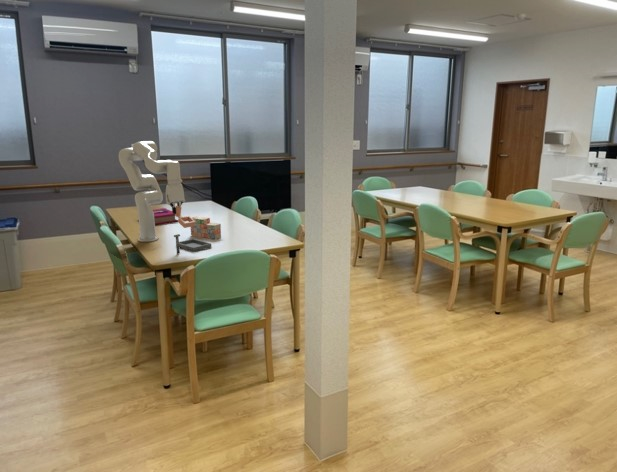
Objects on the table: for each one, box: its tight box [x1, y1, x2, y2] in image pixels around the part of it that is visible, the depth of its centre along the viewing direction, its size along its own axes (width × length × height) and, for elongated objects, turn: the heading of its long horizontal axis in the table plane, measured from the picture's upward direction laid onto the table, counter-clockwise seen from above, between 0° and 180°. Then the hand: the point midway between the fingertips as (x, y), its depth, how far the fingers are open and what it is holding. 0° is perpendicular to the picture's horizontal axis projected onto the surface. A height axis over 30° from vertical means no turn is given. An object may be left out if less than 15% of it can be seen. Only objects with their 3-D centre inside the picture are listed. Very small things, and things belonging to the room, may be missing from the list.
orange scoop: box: [175, 205, 195, 229], centre depth 273 cm, size 15×7×6 cm, turn 47°
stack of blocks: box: [190, 216, 222, 240], centre depth 307 cm, size 21×6×12 cm, turn 59°
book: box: [152, 207, 178, 226], centre depth 358 cm, size 21×28×8 cm
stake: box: [173, 234, 181, 254], centre depth 268 cm, size 2×3×11 cm, turn 138°
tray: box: [179, 238, 212, 252], centre depth 283 cm, size 18×13×2 cm
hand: (176, 213), depth 277 cm, fingers closed on orange scoop
